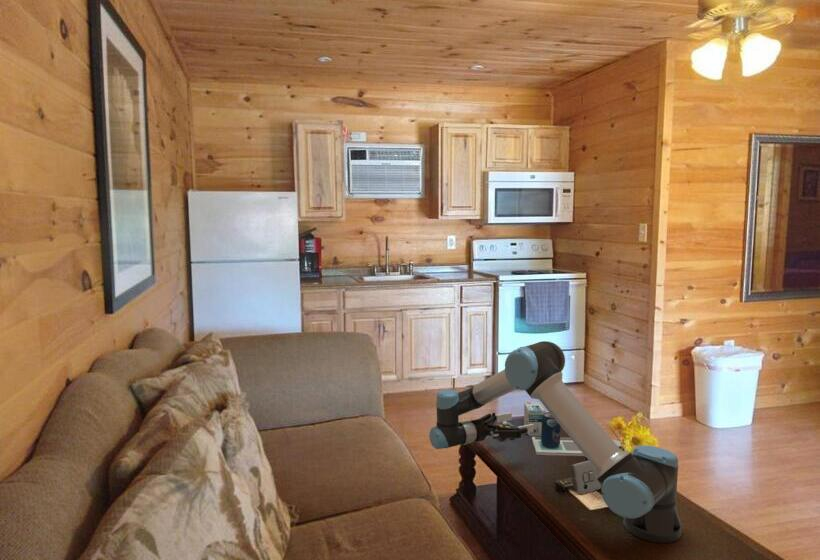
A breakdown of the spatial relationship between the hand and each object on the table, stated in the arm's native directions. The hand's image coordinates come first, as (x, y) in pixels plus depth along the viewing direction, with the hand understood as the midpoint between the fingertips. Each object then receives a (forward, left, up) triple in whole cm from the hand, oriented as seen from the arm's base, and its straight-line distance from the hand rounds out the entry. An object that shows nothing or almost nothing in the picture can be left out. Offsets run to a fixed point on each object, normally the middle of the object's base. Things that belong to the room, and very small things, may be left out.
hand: (521, 421), depth 208 cm
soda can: (+6, -12, -11) cm, 17 cm away
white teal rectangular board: (+7, -16, -13) cm, 21 cm away
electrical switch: (-25, -18, -13) cm, 33 cm away
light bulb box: (+23, -8, -13) cm, 28 cm away
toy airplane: (+17, +4, -13) cm, 21 cm away
